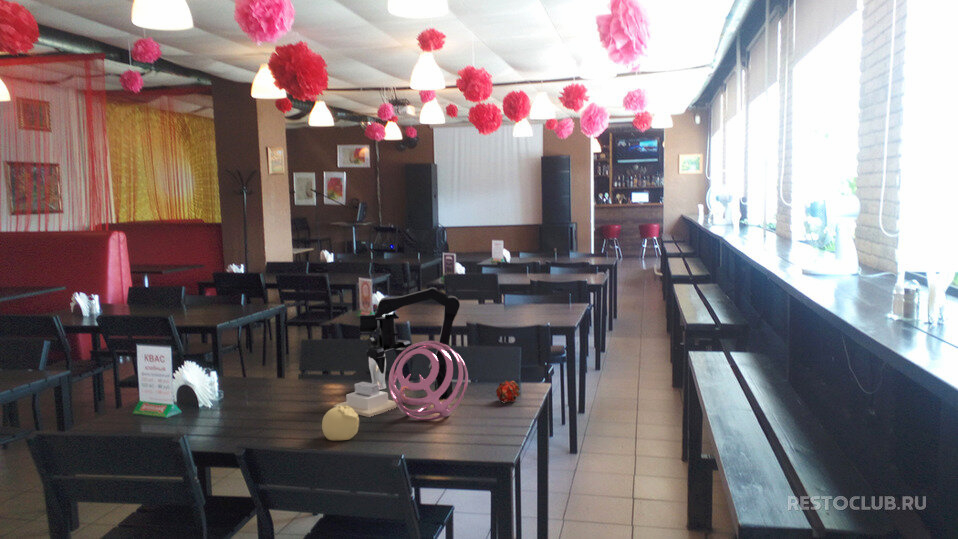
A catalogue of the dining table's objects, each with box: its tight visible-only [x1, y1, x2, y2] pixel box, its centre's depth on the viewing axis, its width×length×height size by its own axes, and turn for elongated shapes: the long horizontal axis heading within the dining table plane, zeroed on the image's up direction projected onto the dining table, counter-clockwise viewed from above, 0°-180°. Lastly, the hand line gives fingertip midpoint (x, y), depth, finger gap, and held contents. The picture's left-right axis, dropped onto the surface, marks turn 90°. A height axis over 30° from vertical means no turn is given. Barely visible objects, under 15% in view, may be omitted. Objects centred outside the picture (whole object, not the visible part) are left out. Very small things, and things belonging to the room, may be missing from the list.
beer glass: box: [368, 353, 387, 391], centre depth 287 cm, size 7×7×15 cm
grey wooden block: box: [354, 381, 380, 397], centre depth 260 cm, size 9×4×8 cm, turn 51°
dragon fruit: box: [496, 379, 522, 403], centre depth 260 cm, size 8×8×12 cm
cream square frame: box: [333, 390, 399, 418], centre depth 261 cm, size 20×16×5 cm
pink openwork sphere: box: [388, 340, 469, 422], centre depth 246 cm, size 28×28×27 cm
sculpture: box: [321, 405, 360, 441], centre depth 227 cm, size 11×12×11 cm
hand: (391, 370), depth 268 cm, fingers open, 9 cm apart
